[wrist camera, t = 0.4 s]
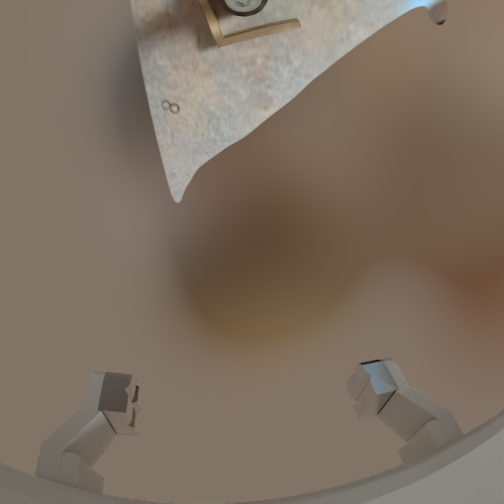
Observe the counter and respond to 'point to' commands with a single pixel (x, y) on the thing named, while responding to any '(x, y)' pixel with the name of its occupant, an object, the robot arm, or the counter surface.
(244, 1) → the sauce bottle
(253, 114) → the counter surface
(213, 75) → the counter surface
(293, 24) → the wooden bracket
